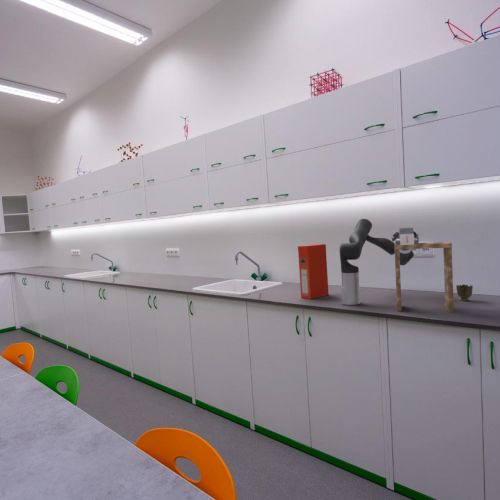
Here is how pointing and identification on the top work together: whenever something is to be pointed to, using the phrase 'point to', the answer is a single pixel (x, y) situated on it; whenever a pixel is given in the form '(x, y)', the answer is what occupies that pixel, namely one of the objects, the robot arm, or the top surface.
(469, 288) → the cup
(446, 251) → the oak shelf
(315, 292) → the file binder
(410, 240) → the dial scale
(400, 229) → the block
